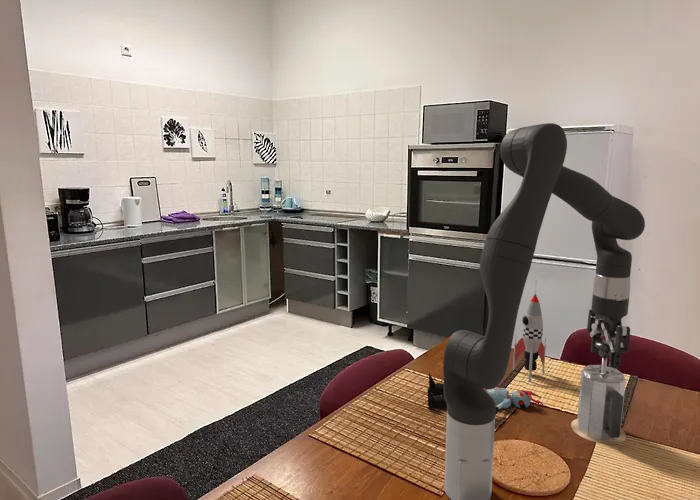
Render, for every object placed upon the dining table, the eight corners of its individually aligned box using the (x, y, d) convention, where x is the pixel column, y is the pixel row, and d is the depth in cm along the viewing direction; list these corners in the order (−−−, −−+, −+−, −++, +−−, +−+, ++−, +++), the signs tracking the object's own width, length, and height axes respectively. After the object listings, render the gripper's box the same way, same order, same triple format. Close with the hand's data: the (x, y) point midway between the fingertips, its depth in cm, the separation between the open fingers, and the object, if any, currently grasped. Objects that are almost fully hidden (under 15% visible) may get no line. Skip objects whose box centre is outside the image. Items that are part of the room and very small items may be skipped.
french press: (634, 447, 112) (641, 385, 110) (593, 447, 112) (599, 386, 110) (607, 420, 124) (613, 363, 121) (570, 420, 124) (574, 364, 121)
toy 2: (510, 369, 155) (516, 277, 150) (533, 366, 158) (539, 275, 152) (529, 382, 147) (535, 285, 141) (552, 378, 149) (559, 282, 144)
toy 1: (430, 359, 148) (534, 362, 142) (430, 383, 150) (534, 387, 144) (426, 400, 124) (552, 405, 118) (427, 428, 125) (551, 434, 119)
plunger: (619, 421, 116) (627, 348, 112) (592, 422, 116) (599, 348, 112) (605, 408, 122) (612, 338, 119) (580, 408, 122) (586, 338, 119)
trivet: (636, 446, 114) (636, 443, 114) (585, 446, 114) (585, 444, 114) (609, 419, 126) (609, 417, 125) (562, 419, 126) (562, 417, 125)
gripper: (580, 285, 120) (575, 348, 123) (611, 302, 106) (604, 372, 109) (610, 285, 120) (604, 348, 123) (645, 302, 106) (637, 372, 109)
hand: (604, 359), depth 116 cm, fingers open, 8 cm apart
